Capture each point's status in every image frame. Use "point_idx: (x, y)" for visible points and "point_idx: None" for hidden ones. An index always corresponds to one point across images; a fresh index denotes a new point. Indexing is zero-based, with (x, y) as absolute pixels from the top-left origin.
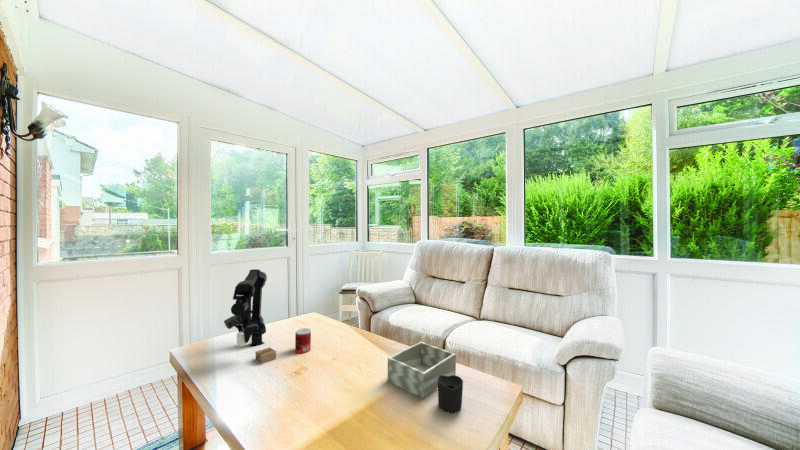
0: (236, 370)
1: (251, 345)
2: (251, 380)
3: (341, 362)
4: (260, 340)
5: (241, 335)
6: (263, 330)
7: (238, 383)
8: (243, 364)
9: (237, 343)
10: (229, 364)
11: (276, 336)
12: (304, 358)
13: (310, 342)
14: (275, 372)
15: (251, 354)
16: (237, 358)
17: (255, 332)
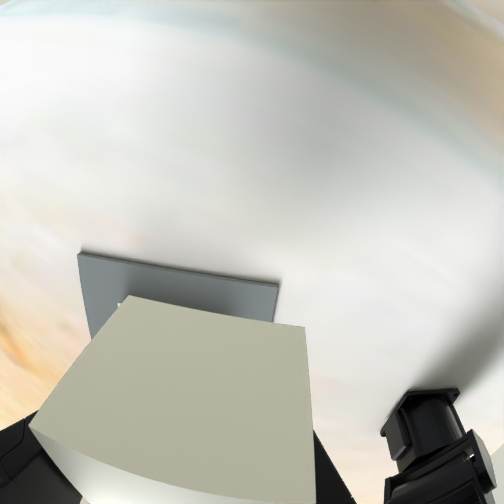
0: (174, 165)
1: (426, 394)
2: (16, 177)
3: (18, 412)
4: (390, 441)
5: (39, 441)
6: (385, 499)
7: (29, 116)
8: (229, 246)
9: (264, 325)
10: (324, 182)
11: (389, 469)
12: None
13: None
14: (25, 290)
15: (335, 352)
16: (368, 272)
17: (440, 463)
